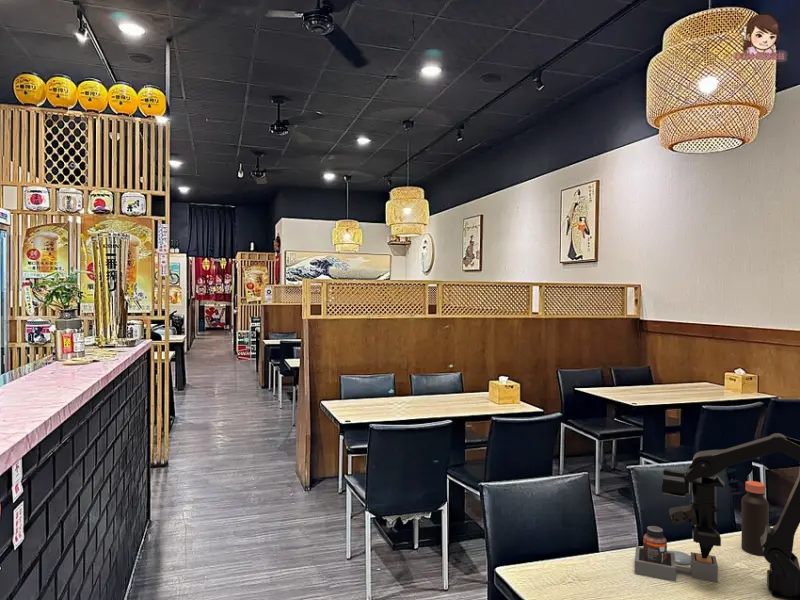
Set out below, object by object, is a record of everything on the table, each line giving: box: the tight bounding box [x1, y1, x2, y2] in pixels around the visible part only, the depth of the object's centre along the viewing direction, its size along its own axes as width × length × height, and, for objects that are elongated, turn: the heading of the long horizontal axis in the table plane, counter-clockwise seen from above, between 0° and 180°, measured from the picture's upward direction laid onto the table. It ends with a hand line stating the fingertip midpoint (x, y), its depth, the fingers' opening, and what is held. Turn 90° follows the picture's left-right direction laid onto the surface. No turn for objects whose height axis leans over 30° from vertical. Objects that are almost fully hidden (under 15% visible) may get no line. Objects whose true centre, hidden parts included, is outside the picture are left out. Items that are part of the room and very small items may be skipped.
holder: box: [634, 545, 719, 584], centre depth 150 cm, size 20×10×4 cm, turn 65°
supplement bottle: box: [642, 525, 668, 565], centre depth 153 cm, size 6×6×11 cm
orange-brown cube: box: [695, 552, 712, 563], centre depth 149 cm, size 4×4×4 cm
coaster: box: [667, 550, 691, 566], centre depth 159 cm, size 8×8×1 cm
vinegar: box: [740, 480, 770, 557], centre depth 164 cm, size 7×7×20 cm
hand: (704, 557), depth 149 cm, fingers closed, pressing on orange-brown cube
